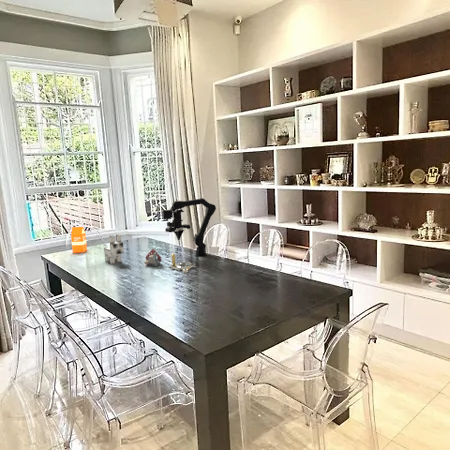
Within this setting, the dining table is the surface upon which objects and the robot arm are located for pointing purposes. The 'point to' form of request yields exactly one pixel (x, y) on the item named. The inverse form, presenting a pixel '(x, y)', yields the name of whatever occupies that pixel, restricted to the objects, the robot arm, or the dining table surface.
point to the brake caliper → (152, 259)
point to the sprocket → (180, 264)
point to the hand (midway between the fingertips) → (178, 239)
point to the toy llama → (114, 250)
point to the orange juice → (78, 239)
